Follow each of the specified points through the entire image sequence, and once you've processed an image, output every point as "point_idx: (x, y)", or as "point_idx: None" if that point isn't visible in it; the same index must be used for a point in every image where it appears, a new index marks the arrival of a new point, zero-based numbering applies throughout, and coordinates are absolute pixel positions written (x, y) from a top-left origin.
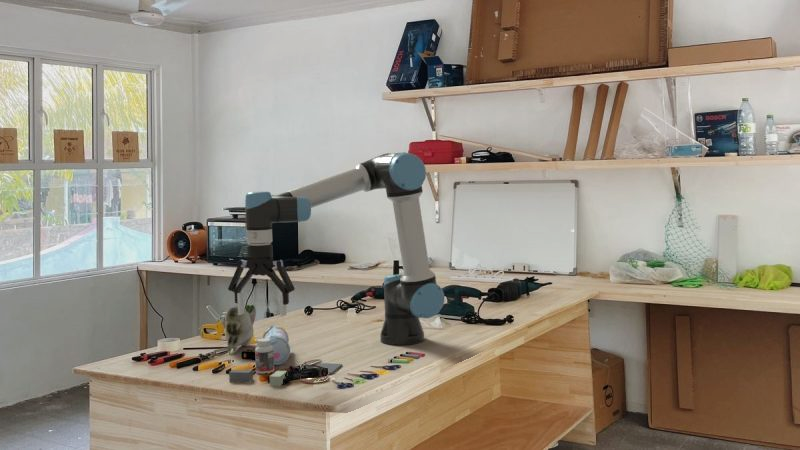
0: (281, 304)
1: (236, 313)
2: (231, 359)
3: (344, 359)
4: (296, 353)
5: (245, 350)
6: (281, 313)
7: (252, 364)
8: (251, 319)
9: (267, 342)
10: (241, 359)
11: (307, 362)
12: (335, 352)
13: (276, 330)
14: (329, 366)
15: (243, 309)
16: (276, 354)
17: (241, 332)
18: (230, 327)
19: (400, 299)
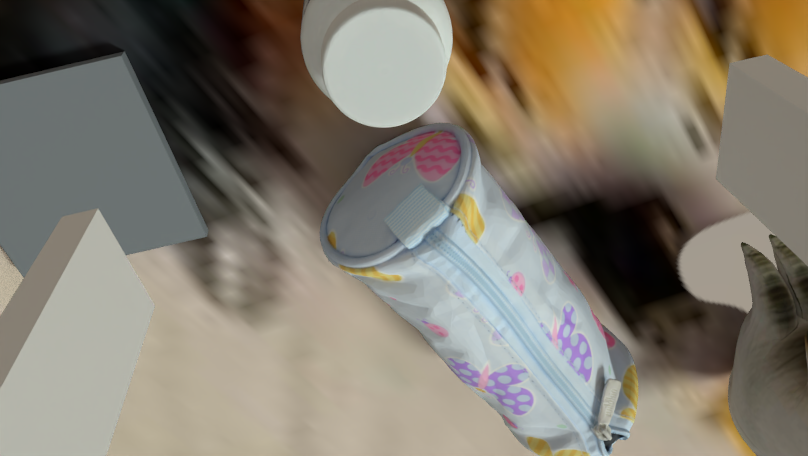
0: (4, 335)
1: None
2: (715, 154)
3: None
4: (430, 354)
5: (709, 308)
6: (70, 236)
7: (543, 112)
8: None
9: (324, 45)
10: (658, 174)
11: (263, 256)
12: (262, 424)
13: (541, 401)
14: (41, 213)
15: (750, 193)
16: (381, 168)
17: (777, 360)
18: None
19: None
